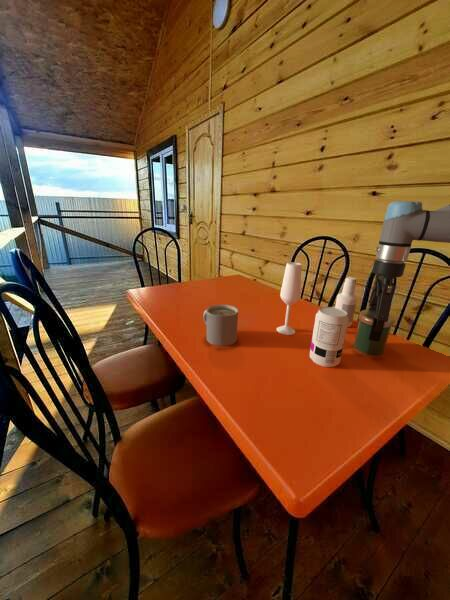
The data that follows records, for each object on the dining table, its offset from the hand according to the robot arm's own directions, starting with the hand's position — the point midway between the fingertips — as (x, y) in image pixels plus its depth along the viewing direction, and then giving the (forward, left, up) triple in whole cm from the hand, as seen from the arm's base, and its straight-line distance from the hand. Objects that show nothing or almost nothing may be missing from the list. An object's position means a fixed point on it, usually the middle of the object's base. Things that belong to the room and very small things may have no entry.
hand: (371, 333), depth 78 cm
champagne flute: (+26, -2, -5) cm, 26 cm away
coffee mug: (+46, +12, -5) cm, 48 cm away
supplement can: (+13, +13, -5) cm, 19 cm away
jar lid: (0, 0, +6) cm, 6 cm away
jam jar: (0, 0, -5) cm, 5 cm away
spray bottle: (+7, -17, -5) cm, 19 cm away
